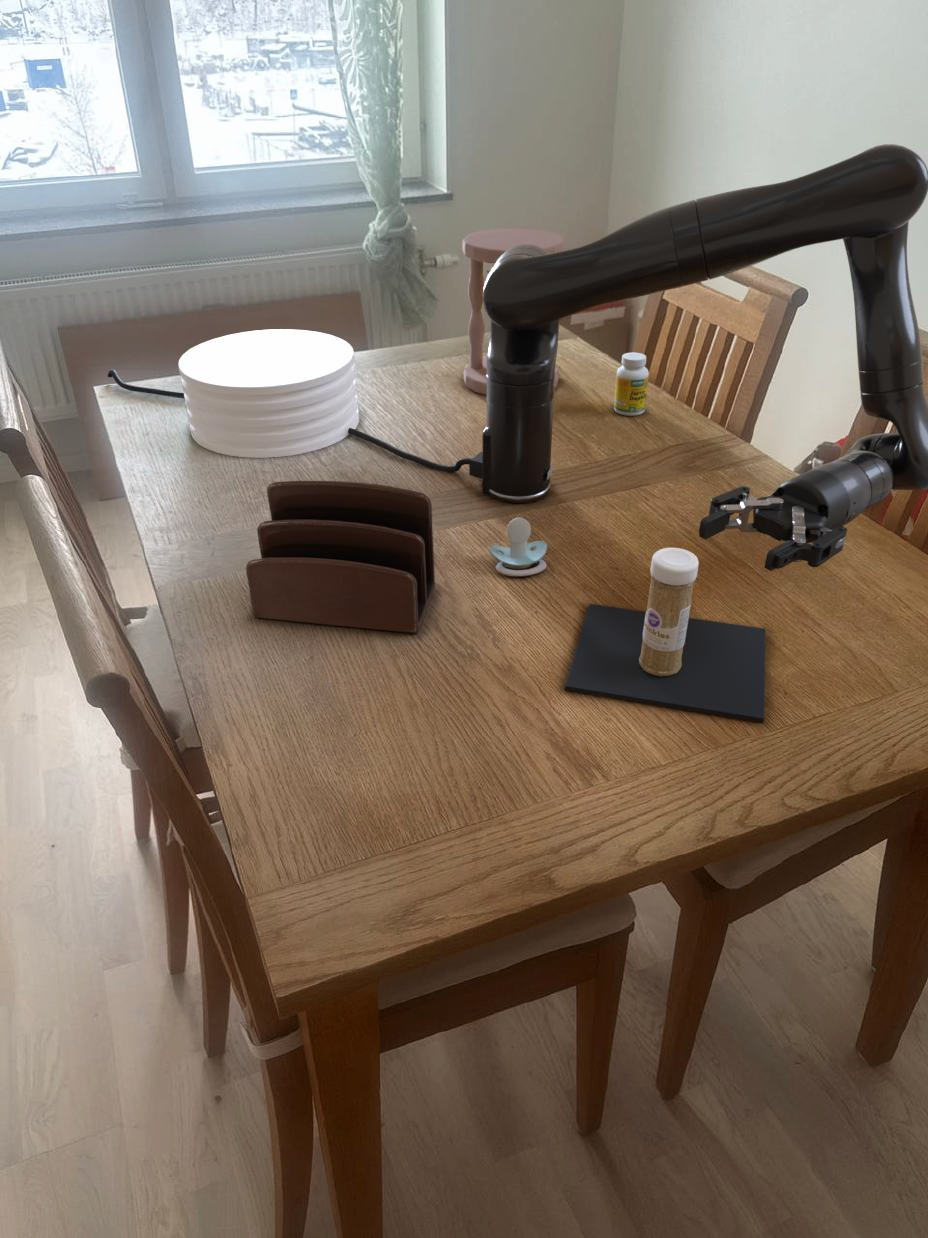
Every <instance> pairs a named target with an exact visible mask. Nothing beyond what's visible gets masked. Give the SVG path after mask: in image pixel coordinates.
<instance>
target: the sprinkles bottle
mask: <svg viewBox="0 0 928 1238" xmlns="http://www.w3.org/2000/svg"><path fill="white" fill-rule="evenodd" d="M699 565H700V563H699V559H698V557H697V555H695V554H694V553H693V552H692V551H690V550H687V549H685V548H681V547H664V548H661V549H658V550H657V551H655V552H654V553H653V555H652V557H651V562H650V577H651V579H650V584H649V591H648V597H647V605H646V611H645V612H646V615H645V622H644V629H643V642H642V648H641V655H640V657H639V664H640V666H641V667H642V668H643V670H644V671H646V672H648V673H650V674H652V675H655V676H670V675H673V674H675V673H677V672H678V671H679V670H680V668H681V665H682V664H681V657H682V652H683V645H684V643H685V637H686V631H687V625H688V619H689V618H690V612H691V607H692V606H691V605H692V596H693V590H694V584H695V581H696V579H697V577H698V571H699Z"/></svg>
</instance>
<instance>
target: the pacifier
mask: <svg viewBox="0 0 928 1238" xmlns="http://www.w3.org/2000/svg"><path fill="white" fill-rule="evenodd" d="M531 528H532V527H531V525H530V522H529V521H528V520H526V519H525V518H523V517H515V518H513V519H511V520H510V521H509V523H508V525H507V527H506V534H507V537H508V539H509V547H506V546H502V545H493V544H492V545H490V546H489V547H488V548H489V550H488V551H489V552H490V554H491V555H492V556H493V558H495V559H496V560H497V561H498V563H497V565H496V566H495V570H496V571H497V572H498V573H499V574H501V575H505V576H509V577H529V576H533V575H537V574H540V573H542V572H543V571H545V570H546V568H547V563H546V561H545V560H543V557H544V556H545V555H546V553H547V551H548V545H547V542H546V541H544V540H535V541H531V542H529V543H528V540H529V539H530V536H531V531H532V529H531ZM532 549H534V550H532ZM533 564H536V566H535V567H532V568H529V567H531V566H532V565H533ZM527 568H528V569H527Z"/></svg>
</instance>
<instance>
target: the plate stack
mask: <svg viewBox="0 0 928 1238" xmlns="http://www.w3.org/2000/svg"><path fill="white" fill-rule="evenodd" d="M177 366H178V371H179V376H180V378H181V379H180V382H181V387H182V391H183V393H184V398H185V399H184V398H183V399H184V403H185V406H186V413H187V419H188V422H189V430H190V435H191V437H192V439H193V440H194V441H195V442H196V443H197V444H198V445H199V446H201V447H203V448H205V449H207V450H209V451H211V452H214V453H217V454H221V455H225V456H231V457H237V458H238V457H239V458H248V459H249V458H250V459H269V458H282V457H289V456H296V455H301V454H306V453H311V452H314V451H318V450H321V449H325V448H327V447H329V446H332V445H334V444H336V443H338V442H340V441H343V440H344V439H345V438H347V437H348V436H349V435H350V434H349V433H348V429H349V428H352V429H355V430H356V428H357V427H358V426H359V422H360V411H359V399H358V394H357V393H358V388H357V387H358V386H357V379H356V377H357V375H356V365H355V351H354V348H353V346H352V345H351V344H350V343H348V341H346V340H344V339H343V338H340V337H338V336H336V335H332V334H329V333H325V332H320V331H313V330H305V329H292V328H291V329H289V328H287V329H283V328H279V329H276V328H275V329H262V330H251V331H243V332H238V333H232V334H227V335H223V336H219V337H216V338H213V339H210V340H206V341H204V342H201V343H199V344H198V345H197V344H196V345H195V346H193V347H191V348H189V349H188V350H187V351H186V352H185V353H183V354H182V355H181V356H180V358H179V359H178V364H177Z"/></svg>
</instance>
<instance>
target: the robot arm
mask: <svg viewBox="0 0 928 1238" xmlns="http://www.w3.org/2000/svg"><path fill="white" fill-rule="evenodd" d="M927 196H928V167H927V165H926V163H925V161H924V160H923V159H922V157H921V156H920V155H919V154H917V152H915V151H914V150H912V149H910V148H908V147H906V146H904V145H899V144H895V143H885V144H879V145H874V146H872V147H869V148H868V149H866V150H864V151H862V152H860V153H857V154H856V155H853V156H852V157H849V158H846V159H844V160H841V161H839V162H837V163H834V164H831V165H829V166H826V167H824V168H821V169H819V170H816V171H813V172H811V173H807V174H805V175H802V176H799V177H796V178H792V179H790V180H786V181H782V182H776V183H771V184H765V185H764V184H763V185H758V186H752V187H746V188H741V189H735V190H730V191H725V192H720V193H716V194H712V195H708V196H703V197H700V198H699V197H698V198H696V199H692V200H689V201H685V202H682V203H679V204H674V205H672V206H669V207H665V208H662V209H659V210H657V211H654V212H652V213H648V214H647V215H644V216H643V217H640V218H638V219H636V220H634V221H632V222H629V223H627V224H626V225H624V226H621V227H620V228H618V229H616V230H614V231H613V232H610V233H609V234H607V235H605V236H603V237H601V238H599V239H597V240H595V241H592V242H590V243H587V244H584V245H581V246H577V247H575V248H571V249H566V250H565V251H561V252H556V253H552V254H549V253H548V252H547V251H545V250H544V249H542V248H540V247H538V246H535V245H528V244H525V245H518V246H515V247H513V248H511V249H509V250H507V251H506V252H505V253H504V254H502V255H501V257H500V258H499V259H498V260H497V262H496V263H495V264H493V266H492V267H493V268H492V270H491V271H490V273H489V275H488V274H487V277H486V279H485V281H484V284H485V285H484V289H483V304H482V306H483V309H484V311H485V313H486V315H487V316H488V318H489V320H490V334H489V342H488V349H487V355H486V357H487V395H486V426H485V428H484V430H483V432H482V437H481V438H482V439H481V440H482V445H481V447H482V451H480V452H479V453H477V454H476V455H474V456H472V457H463V458H460V459H458V460H457V461H456V462H455V464H454V465H443V464H439V463H436V462H434V461H430V460H428V459H425V458H422V457H420V456H417V455H415V454H412V453H409V452H407V451H404V450H402V449H399V448H397V447H395V446H393V445H391V444H390V443H388V442H385V441H383V440H382V439H378V438H376V437H375V436H371V435H369V434H367V433H365V432H362V431H359V430H357V429H356V428H355V429H352V428H349V429H348V433H349V435H351V436H353V437H356V438H358V439H361V440H364V441H366V442H368V443H370V444H374V445H375V446H378V447H380V448H382V449H383V450H386V451H388V452H390V453H392V454H393V455H395V456H398V457H400V458H402V459H405V460H408V461H410V462H413V463H416V464H418V465H421V466H423V467H425V468H428V469H432V470H436V471H441V472H446V473H454V472H458V471H460V470H461V468H462V466H464V465H469V466H468V470H469V471H468V472H469V473H468V475H469V476H470V477H474V478H478V479H481V481H482V483H481V484H482V485H481V489H482V490H481V494H482V495H485V496H490V497H491V498H493V499H495V500H498V501H502V502H505V503H511V504H514V503H515V504H523V503H524V504H525V503H532V502H536V501H539V500H541V499H544V498H545V497H547V496H548V494H549V493H550V491H551V475H552V473H553V471H554V463H552V442H553V441H552V440H553V423H554V420H553V419H554V401H555V387H554V382H555V366H556V365H557V364H556V363H557V355H558V349H559V348H558V347H559V334H560V332H559V331H560V320H562V319H564V318H567V317H570V316H572V315H575V314H578V313H580V312H584V311H585V310H589V309H592V308H595V307H599V306H602V305H606V304H610V303H616V302H620V301H625V300H629V299H631V300H632V299H636V298H640V297H643V296H644V297H645V296H649V295H653V294H656V293H661V292H666V291H669V290H674V289H679V288H683V287H687V286H690V285H694V284H699V283H703V282H706V281H709V280H713V279H717V278H719V277H722V276H726V275H729V274H732V273H735V272H738V271H741V270H744V269H747V268H749V267H752V266H756V265H757V264H760V263H763V262H765V261H767V260H770V259H772V258H775V257H777V256H779V255H782V254H785V253H788V252H791V251H793V250H796V249H800V248H804V247H808V246H812V245H818V244H822V243H823V244H824V243H828V242H834V241H839V240H843V244H844V250H845V252H846V257H847V261H848V266H849V274H850V279H851V287H852V293H853V294H852V295H853V303H854V319H855V335H856V337H855V338H856V339H855V340H856V353H857V370H858V380H859V391H860V392H859V393H860V403H861V404H860V405H861V407H862V410H863V412H864V413H865V414H866V415H867V416H870V417H874V418H878V419H883V420H886V421H888V422H890V423H891V424H893V426H894V427H895V429H896V431H897V432H880V433H872V434H869V435H866V436H863V437H861V438H859V439H857V440H856V441H855V442H854V444H853V445H852V446H851V447H850V448H849V449H848V450H847V452H846V453H845V454H844V455H842V456H841V457H839V458H836V459H835V460H833V461H831V462H827V463H823V464H821V465H818V466H815V467H813V468H812V469H809V470H807V471H805V472H804V473H801V474H799V475H797V476H795V477H793V478H791V479H789V480H787V481H785V482H783V483H782V484H780V485H779V486H778V487H777V488H776V489H775V491H774V492H773V493H772V494H771V495H768V496H760V497H758V498H757V497H756V496H753V495H750V493H751V492H750V491H751V488H750V487H748V486H745V485H742V486H739V487H737V488H733V489H731V490H729V491H727V492H724V493H722V494H719V495H716V496H713V497H711V499H710V505H709V512H708V515H706V516H705V517H703V518H701V520H700V524H699V529H698V532H699V534H698V536H699V538H701V539H703V540H708V539H710V538H712V537H714V536H716V535H718V534H720V533H722V532H724V531H725V530H739V532H741V533H760V534H763V535H766V536H769V537H770V538H772V539H773V540H776V541H778V542H782V543H780V544H777V546H775V547H773V548H771V549H770V550H768V551H767V553H766V557H765V562H764V569H765V570H768V571H769V572H772V571H774V570H776V569H777V570H780V569H783V568H786V567H787V566H789V565H790V564H792V563H801V562H802V561H804V562H807V566H809V567H811V568H819V567H820V566H822V565H823V564H825V563H826V562H827V561H829V560H830V559H832V558H833V557H834V556H836V555H837V554H839V553H841V552H842V551H843V548H844V544H845V541H846V537H847V532H848V528H846V527H844V526H846V525H847V524H848V525H849V523H851V522H852V521H854V520H855V519H856V518H857V517H859V515H861V514H863V513H864V512H865V513H866V512H867V511H869V510H870V509H872V508H873V507H876V506H877V505H878V504H880V503H881V502H882V501H883V500H885V499H886V498H887V497H888V495H889V494H890V492H891V491H892V490H893V491H894V490H895V491H896V490H897V491H923V490H927V489H928V400H927V397H926V393H925V380H924V363H923V351H922V350H923V349H922V341H921V335H920V329H919V324H918V323H919V322H918V319H917V313H916V310H915V304H914V299H913V296H912V288H911V284H910V277H909V268H908V267H909V266H908V234H909V223H910V221H911V220H912V218H913V217H914V216H915V215H916V214H917V213H918V212H919V211H920V209H921V208H922V206H923V204H924V202H925V200H926V198H927ZM107 378H113V380H114V381H115V383H116V384H117V386H119V387H120V388H122V389H124V390H127V391H131V392H134V393H135V392H137V393H142V394H151V395H159V396H164V397H170V398H176V399H177V398H178V399H184V400H185V398H184V392H180V391H173V390H166V389H159V388H153V387H145V386H137V385H132V384H129V383H126V382H124V381H122V379H121V378H120V376H119V374H118V372H117V371H116V370H115V369H110V370H109V371H108V373H107ZM551 463H552V465H551ZM750 512H752V522H749V517H750ZM735 514H738V517H737V519H731V516H732V515H735Z"/></svg>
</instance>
